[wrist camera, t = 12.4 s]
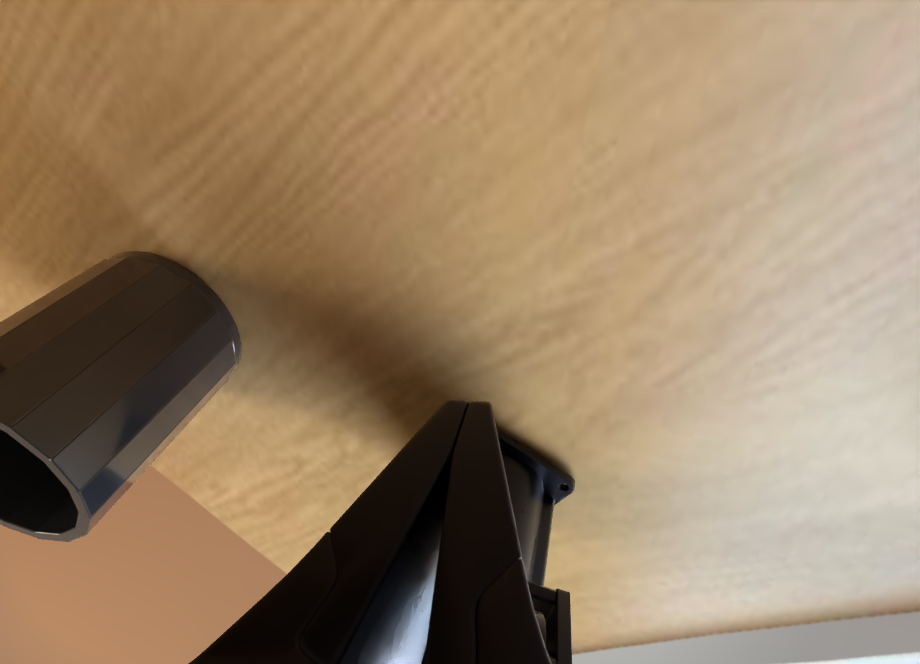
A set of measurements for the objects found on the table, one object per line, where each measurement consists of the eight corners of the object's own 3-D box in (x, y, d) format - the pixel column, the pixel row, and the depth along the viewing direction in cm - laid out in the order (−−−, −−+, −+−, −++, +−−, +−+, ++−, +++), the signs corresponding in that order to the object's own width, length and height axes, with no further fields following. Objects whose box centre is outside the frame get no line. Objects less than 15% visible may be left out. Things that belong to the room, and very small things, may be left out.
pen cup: (260, 315, 26) (100, 478, 18) (219, 406, 31) (78, 566, 23) (107, 218, 25) (-136, 346, 17) (88, 328, 30) (-107, 468, 22)
